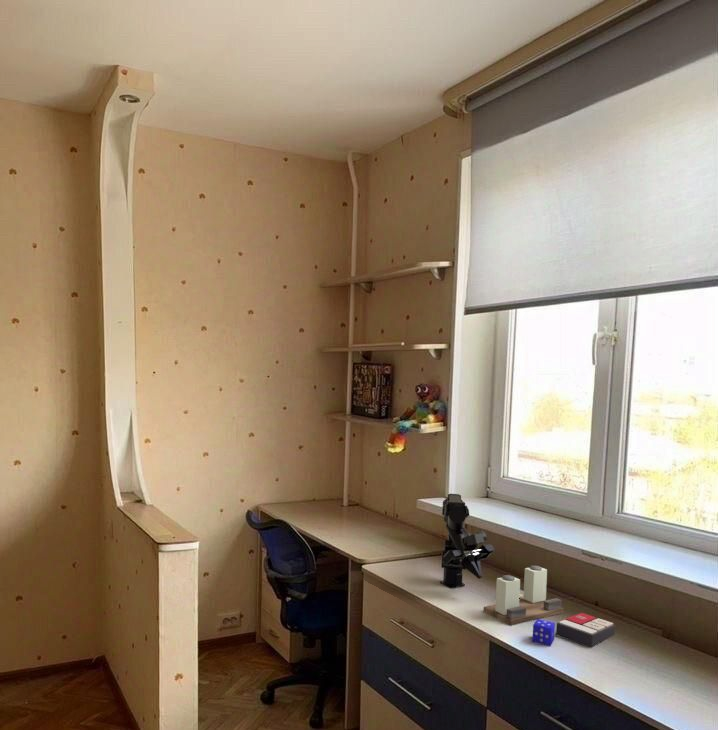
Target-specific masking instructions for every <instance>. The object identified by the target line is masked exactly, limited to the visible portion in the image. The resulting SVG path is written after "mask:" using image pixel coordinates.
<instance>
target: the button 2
mask: <svg viewBox="0 0 718 730" xmlns="http://www.w3.org/2000/svg"><path fill="white" fill-rule="evenodd" d="M529 566H530V567H526V568H524V576H523V577H524V578H523V580H524V581H523V591H524V599H525V600H527V601H529V602H531V603H536V602H540V601H545V600H546V599H547V582H548V578H547V577H548V569H547V568H544V567H541V566H539V565H534V564H533V565H529Z"/></svg>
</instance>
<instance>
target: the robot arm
mask: <svg viewBox="0 0 718 730" xmlns="http://www.w3.org/2000/svg"><path fill="white" fill-rule="evenodd" d="M441 511H442V512H441V516H443V521H444V523H446V525H445V528H446V531H447V539H446V540H445V541H444V544H443V549H441V559H440V561H441V562H440V567H441V568H442V569H443V577H442V578H443V579H442V580H439V583H440V584H442V585H443V586H446V587H448V588H450V589H454V588H459V587H465V585H466V584H465V583H464V582H463V570H464V571H465V570H467V571H468V572H470V573H471V574H472V575H473V576H475V577H476V578H477V579H478V580H479V579H482V578H483V575H482V573H483V572H482V567H481V561H482V560H486V559H487V558H489V557H490V555H492V554H493V553H494V552H495V551H496V550H495V548H494V546H493V545H492V544H491V543H486V541H487V540H488V536H487V534H486V532H485V530H479V531H477V533H474V534H472V533H471V532H469V533H468V531H467V530H466V527H465V526H466V525H465V524H466V519H467V518H468V517H469V516H470V509H469V507H468V505H466V502H465V501H463V500H462V495H461V494H459V493H447V497H446V498H445V499H444V500H443V501H442V510H441ZM479 544H480V546H479ZM476 548H477V549H476Z"/></svg>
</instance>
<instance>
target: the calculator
mask: <svg viewBox="0 0 718 730" xmlns="http://www.w3.org/2000/svg"><path fill="white" fill-rule="evenodd" d="M555 629H556V630H555V635H556V636H557V635H558V637H561V638H563V639H566V640H569V641H572V642H575V643H577V644H580V645H583V646H586V647H588V648H594V647H596V646H597V645H599V644H600V643H601V642H604V641H606V640H608V639H610V638H611V637H613V636H615V635H614V634H616V625H615V624H614V622H611V621H608V620H606V619H602V618H597V617H595V616H592V615H590V614H586V613H583V612H580V613H577V614H574V615H572V616H569V617H566V619H563V620H561V621H560V620H559V621H558V622H557V623H556V626H555ZM595 645H596V646H595Z"/></svg>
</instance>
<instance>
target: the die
mask: <svg viewBox="0 0 718 730" xmlns="http://www.w3.org/2000/svg"><path fill="white" fill-rule="evenodd" d="M555 629H556V622H553V621H548V620H544V619H537V620H535V622H534V623H533V625H532V642H533V643H535V644H539V645H543V644H544V646H547V645H549V647H552V644H553V642H554V641H555V633H556V630H555Z"/></svg>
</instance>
